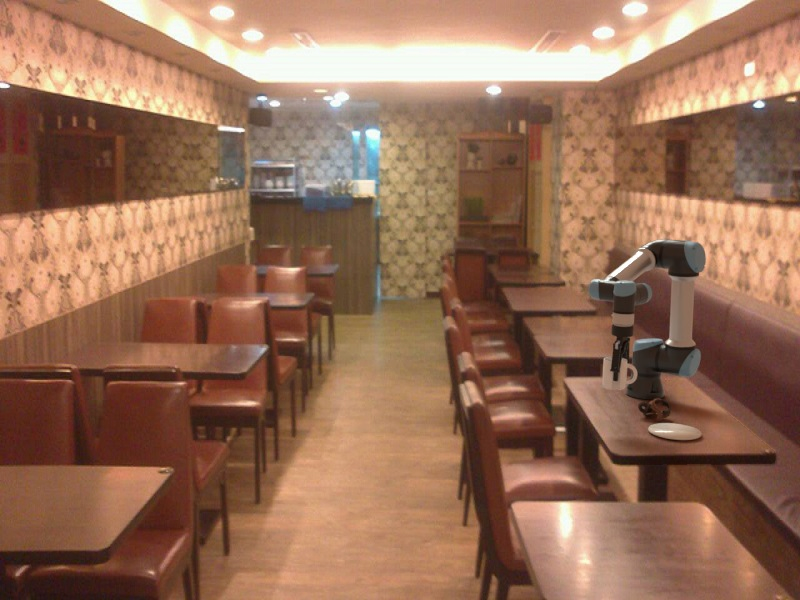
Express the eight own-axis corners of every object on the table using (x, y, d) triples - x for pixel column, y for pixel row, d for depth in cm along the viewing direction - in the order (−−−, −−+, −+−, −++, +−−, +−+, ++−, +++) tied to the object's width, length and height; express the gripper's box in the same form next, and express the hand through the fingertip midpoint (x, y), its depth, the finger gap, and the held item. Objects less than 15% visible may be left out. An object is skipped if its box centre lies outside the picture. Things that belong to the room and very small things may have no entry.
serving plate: (654, 423, 340) (654, 420, 340) (705, 431, 332) (705, 428, 332) (642, 436, 324) (643, 433, 324) (695, 444, 316) (695, 441, 316)
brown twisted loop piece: (661, 414, 354) (671, 399, 349) (665, 431, 346) (675, 416, 341) (632, 406, 353) (641, 391, 348) (635, 423, 345) (645, 408, 340)
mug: (636, 386, 334) (638, 358, 332) (636, 392, 326) (638, 363, 325) (602, 383, 337) (604, 355, 335) (601, 389, 329) (603, 361, 328)
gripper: (620, 318, 338) (616, 379, 342) (603, 328, 320) (600, 391, 324) (640, 321, 335) (636, 382, 339) (625, 330, 317) (621, 395, 320)
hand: (618, 386), depth 331 cm, fingers closed on mug, 8 cm apart
